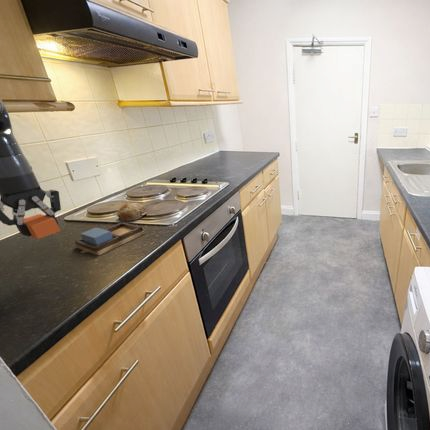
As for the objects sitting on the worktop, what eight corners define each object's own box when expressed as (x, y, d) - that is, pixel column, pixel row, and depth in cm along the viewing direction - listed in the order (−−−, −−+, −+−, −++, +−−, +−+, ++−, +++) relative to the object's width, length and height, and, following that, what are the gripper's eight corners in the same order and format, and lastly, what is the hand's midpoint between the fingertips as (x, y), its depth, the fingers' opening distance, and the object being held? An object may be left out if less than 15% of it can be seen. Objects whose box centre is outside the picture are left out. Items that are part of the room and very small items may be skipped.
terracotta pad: (38, 239, 72) (31, 225, 70) (23, 233, 74) (16, 220, 73) (60, 231, 76) (54, 218, 74) (46, 226, 79) (39, 213, 77)
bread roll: (136, 229, 111) (139, 213, 108) (110, 220, 109) (112, 204, 106) (149, 219, 120) (152, 204, 117) (125, 211, 118) (127, 195, 115)
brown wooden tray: (98, 255, 87) (95, 248, 86) (76, 247, 92) (73, 240, 91) (145, 233, 100) (143, 227, 99) (123, 227, 105) (121, 221, 104)
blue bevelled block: (98, 248, 89) (94, 237, 87) (84, 243, 92) (80, 233, 90) (114, 241, 93) (110, 231, 91) (100, 237, 96) (96, 227, 94)
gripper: (40, 165, 75) (65, 218, 82) (-38, 178, 63) (-1, 240, 70) (54, 167, 72) (78, 223, 79) (-24, 182, 60) (13, 246, 68)
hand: (41, 230), depth 75 cm, fingers closed on terracotta pad, 5 cm apart
